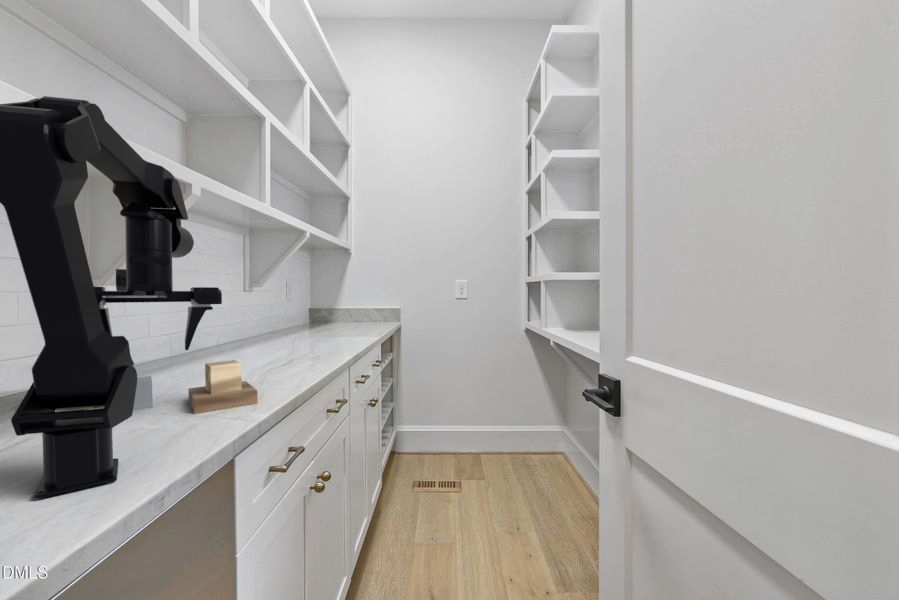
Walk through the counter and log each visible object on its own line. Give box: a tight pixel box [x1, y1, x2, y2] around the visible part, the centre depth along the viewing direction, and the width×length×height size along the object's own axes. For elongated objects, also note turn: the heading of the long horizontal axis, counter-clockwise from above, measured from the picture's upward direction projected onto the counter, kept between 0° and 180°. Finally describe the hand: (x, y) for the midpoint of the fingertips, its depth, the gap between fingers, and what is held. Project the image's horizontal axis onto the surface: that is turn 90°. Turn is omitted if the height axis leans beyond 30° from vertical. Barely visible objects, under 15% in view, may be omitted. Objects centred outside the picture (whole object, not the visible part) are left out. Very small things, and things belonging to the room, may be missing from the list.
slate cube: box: [133, 375, 154, 412], centre depth 73 cm, size 5×5×5 cm
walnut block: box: [188, 380, 258, 415], centre depth 76 cm, size 10×10×3 cm
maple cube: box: [204, 359, 242, 394], centre depth 75 cm, size 5×5×5 cm
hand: (151, 352), depth 62 cm, fingers open, 9 cm apart
